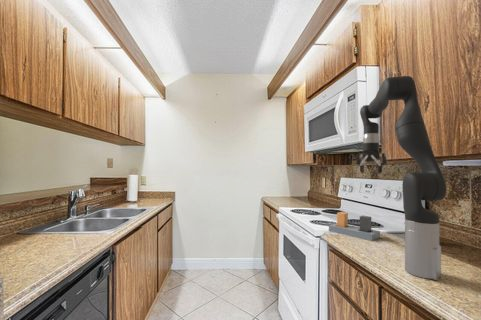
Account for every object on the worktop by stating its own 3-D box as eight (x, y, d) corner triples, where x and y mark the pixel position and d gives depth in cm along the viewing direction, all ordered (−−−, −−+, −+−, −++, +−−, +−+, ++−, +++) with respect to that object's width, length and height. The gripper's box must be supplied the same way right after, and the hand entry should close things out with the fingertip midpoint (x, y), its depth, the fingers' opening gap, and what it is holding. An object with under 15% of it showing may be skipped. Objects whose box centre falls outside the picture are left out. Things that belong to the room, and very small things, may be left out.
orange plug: (347, 231, 132) (347, 213, 132) (344, 232, 129) (344, 213, 129) (340, 230, 135) (340, 211, 135) (337, 231, 132) (337, 212, 132)
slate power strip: (380, 237, 122) (380, 217, 122) (371, 240, 116) (371, 219, 116) (338, 228, 139) (338, 210, 139) (328, 230, 132) (329, 212, 133)
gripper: (354, 142, 133) (354, 172, 132) (383, 141, 122) (383, 173, 122) (360, 143, 138) (360, 172, 137) (388, 142, 127) (388, 173, 127)
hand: (370, 173), depth 130 cm, fingers open, 8 cm apart
